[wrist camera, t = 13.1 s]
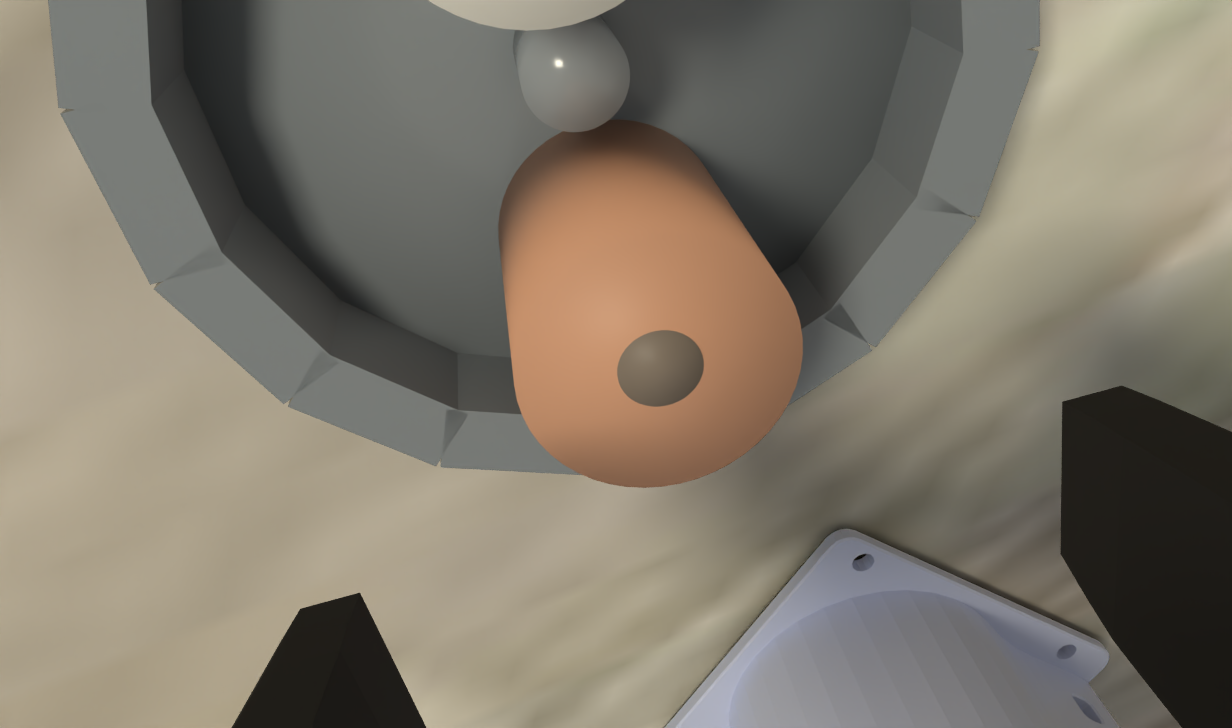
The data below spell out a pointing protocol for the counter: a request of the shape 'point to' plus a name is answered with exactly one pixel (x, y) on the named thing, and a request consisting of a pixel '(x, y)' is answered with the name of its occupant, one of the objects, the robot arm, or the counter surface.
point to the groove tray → (490, 156)
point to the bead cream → (527, 12)
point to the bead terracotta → (640, 310)
